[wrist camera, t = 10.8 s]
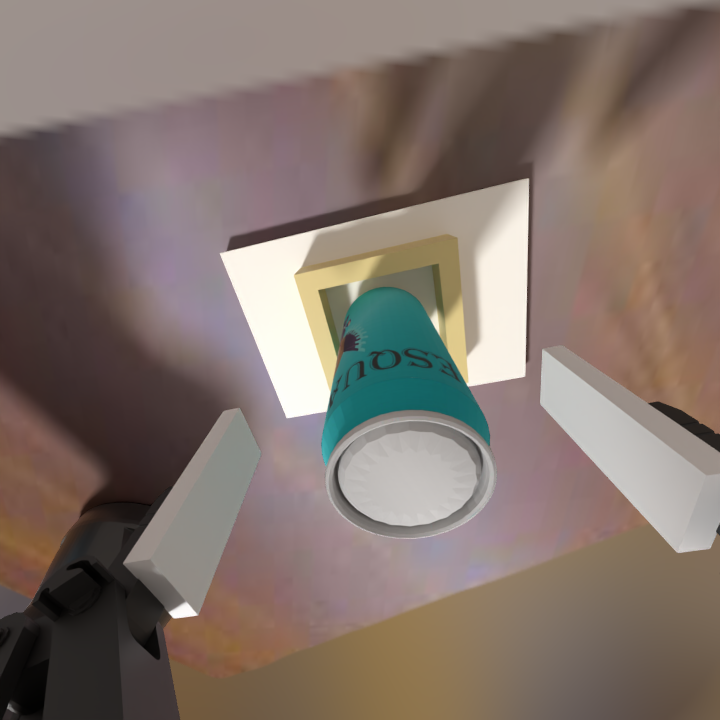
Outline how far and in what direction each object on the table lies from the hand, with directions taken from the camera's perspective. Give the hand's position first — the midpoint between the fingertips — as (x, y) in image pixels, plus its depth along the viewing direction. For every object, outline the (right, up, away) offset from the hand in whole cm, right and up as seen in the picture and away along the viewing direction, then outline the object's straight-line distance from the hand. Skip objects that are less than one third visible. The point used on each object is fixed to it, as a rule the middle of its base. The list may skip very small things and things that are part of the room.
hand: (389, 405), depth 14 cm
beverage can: (+1, +5, +9) cm, 11 cm away
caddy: (+1, +5, +10) cm, 11 cm away
